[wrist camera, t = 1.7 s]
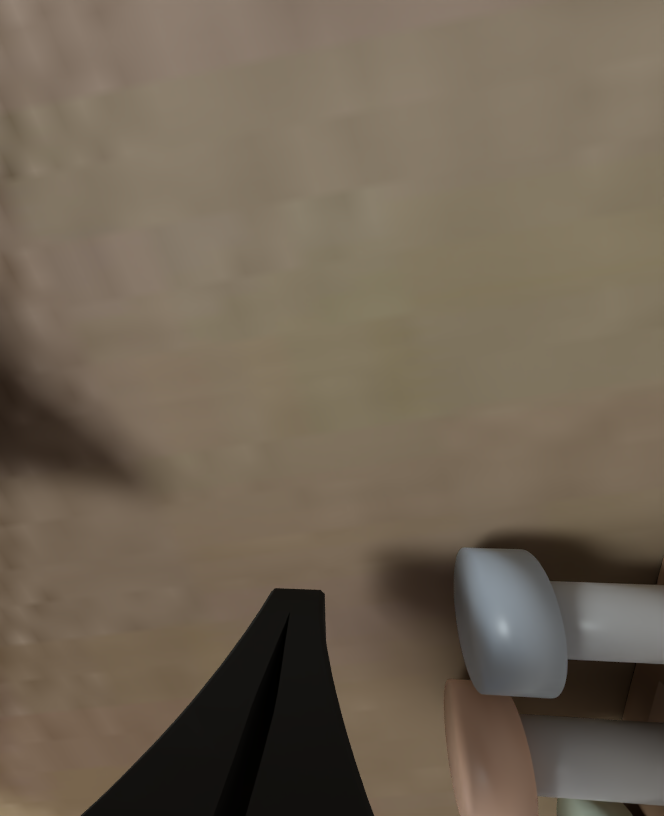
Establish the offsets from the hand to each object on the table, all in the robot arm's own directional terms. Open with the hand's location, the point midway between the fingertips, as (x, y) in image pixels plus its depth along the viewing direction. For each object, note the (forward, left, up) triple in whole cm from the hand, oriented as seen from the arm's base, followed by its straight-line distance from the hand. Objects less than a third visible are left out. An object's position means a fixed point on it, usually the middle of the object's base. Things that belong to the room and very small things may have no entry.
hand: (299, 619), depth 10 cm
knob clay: (-5, -8, -2) cm, 10 cm away
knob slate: (0, -8, -2) cm, 8 cm away
